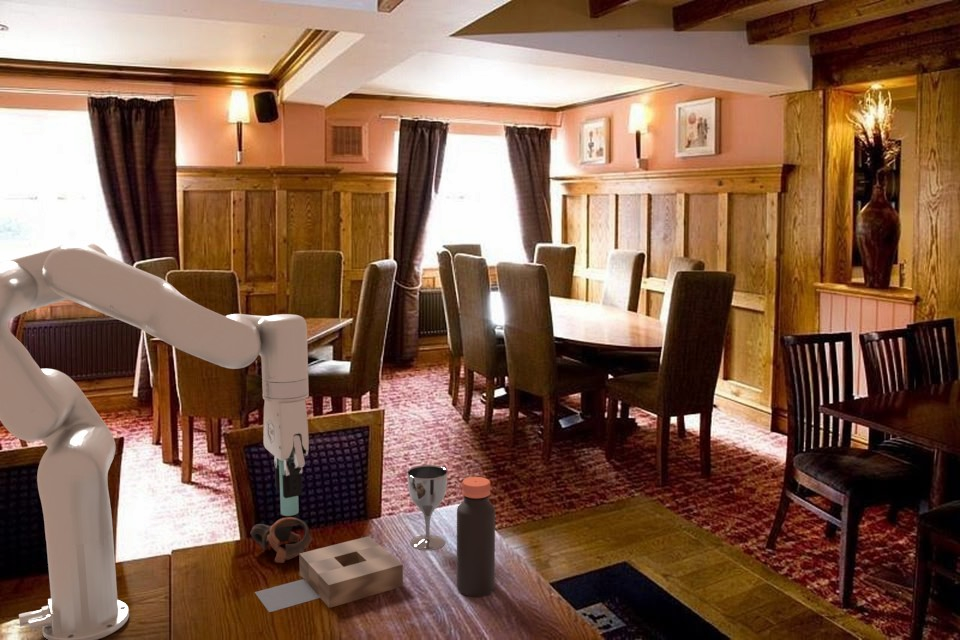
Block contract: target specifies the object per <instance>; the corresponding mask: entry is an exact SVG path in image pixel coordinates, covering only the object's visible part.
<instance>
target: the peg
mask: <svg viewBox="0 0 960 640" xmlns="http://www.w3.org/2000/svg"><path fill="white" fill-rule="evenodd" d="M292 455H294V454H293V453H291V454H290V456H292ZM292 462H294V460H292V461H289V465H290V463H292ZM279 474H280V491H279V499H280V500H279V501H280V502H279V503H280V515H281V516H285V517H293V516H295V515H298V514H299V513H300V512H299V510H300V509H299V496H295V497H290V498H284V497H283V479H282V475H285V473H284V461H281V460H279Z"/></svg>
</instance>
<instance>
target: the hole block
mask: <svg viewBox="0 0 960 640" xmlns="http://www.w3.org/2000/svg"><path fill="white" fill-rule="evenodd" d="M298 556H299V557H298V558H299V559H298V560H299V563H298V565H299V576H300V577H301V578H302V579H304V580H305V581H306V582H307V583H308V584H309V586H310V587H311V588H312V589H313V590H314V591H315V592H316V593H317V595H318V596H319V597H320V598H319V599H321V601H323V603H324V604H325V605H326V606H327V607H328V609H331V608H334V607H338V606H341V605H344V604H348V603H351V602H354V601H358V600H362V599H364V598H368V597H371V596H374V595H375V596H376V595H378V594H382V593H385V592H388V591H391V590H394V589H398V588H402V587H404V584H403V583H404V582H403V581H404V580H403V579H404V573H403V571H404V568H403V567H404V566H403V563H401V561H400V560H398V559H397V558H396V557H394V556H393V555H392V554H391V553H390V552H389V551H387V550H386V549H385V548H384V547H383V546H382V545H380V544H379V543H378V542H377V541H376V540H374V539H373V538H372V537H371V536H370V535H369V536H364V537H360V538H356V539H352V540H348V541H344V542H340V543H337V544H336V543H335V544H332V545H329V546H325V547H319V548H316V549H312V550H308V551H305V552H303V553H299V555H298Z"/></svg>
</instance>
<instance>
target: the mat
mask: <svg viewBox="0 0 960 640" xmlns="http://www.w3.org/2000/svg"><path fill="white" fill-rule="evenodd" d="M254 594H255V595H256V596H257V598H258V599H259V601H260V602H261V604H262V605H263V606H264V607H265V609H266V610H267V611H268V613H273V612H276V611H280V610H283V609H286V608H290V607H294V606H297V605H301V604H304V603H307V602H310V601H314V600H318V599H321V598H320V597H319V596H318V595H317V593H316V592H315V591H314V590H313V589H312V588H311V587H310V586H309V584H308V583H307V582H306V581H305V580H304V579H303V578H302V579H299V580H296V581H295V580H294V581H290V582H288V583H283V584H280V585H277V586H272V587H269V588H265V589H262V590H259V591H255V592H254Z"/></svg>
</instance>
